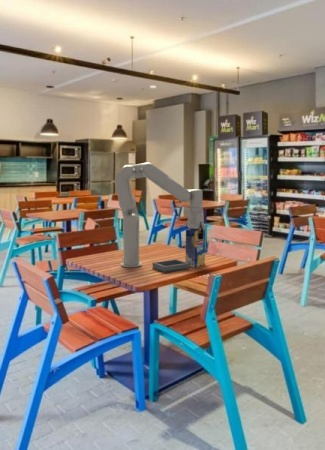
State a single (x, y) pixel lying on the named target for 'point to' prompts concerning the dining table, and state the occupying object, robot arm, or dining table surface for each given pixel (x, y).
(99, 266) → the dining table surface
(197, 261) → the beverage box
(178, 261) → the tray
